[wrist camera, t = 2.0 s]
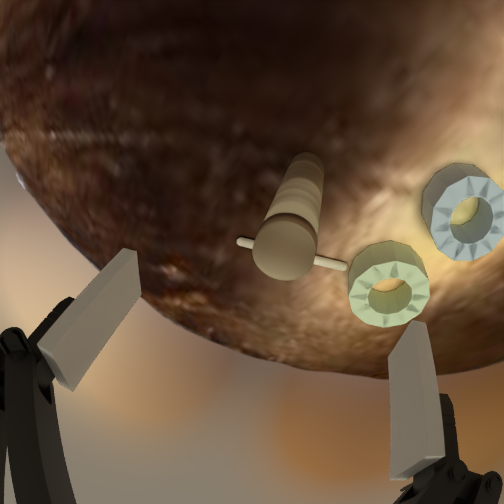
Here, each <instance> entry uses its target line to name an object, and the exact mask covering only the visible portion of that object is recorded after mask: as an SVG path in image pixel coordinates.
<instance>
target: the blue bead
mask: <svg viewBox="0 0 504 504" xmlns="http://www.w3.org/2000/svg"><path fill="white" fill-rule="evenodd" d="M469 197H479V205H478V211H477V212H476V214H475V215H474V217H473V218H472V219H471V220H470V221H469V222H467V223H465V224H463V225H450V220H451V214H452V212H453V211H454V210H455V208H456V207H457V205H458V204H459V203H460V202H462V201H463V200H465V199H467V198H469ZM421 214H422V216H423V218H424V220H425V222H426V225H427V227H428V229H429V232H430V234H431V236H432V238H433V240H434V242H435V245H436V247H437V249H438V250H439V251H441V252H442V253H444V254H445V255H447V256H448V257H450V258H451V259H452V260H460V261H474V260H475V259H477V258H479V257H481V256H483V255H485V254H487V253H489V252H491V251H492V250H493V249H494V247H495V246H496V245H497V244H498V242H499V241H500V240H501V238H502V237H503V236H504V191H503V190H502V189H501V188H500V187H499V186H498V185H497V184H496V183H494V182H493V181H492V180H491V179H490V178H489V177H488V176H487V175H486V174H485V173H483V172H482V171H481V170H480V169H479V168H477V167H476V166H475V165H469V164H459V163H454V164H452V165H450V166H448V167H446V168H444V169H442V170H440V171H438V172H437V173H435V175H434V176H433V178H432V179H431V181H430V182H429V184H428V185H427V187H426V188H425V190H424V191H423V201H422V211H421Z"/></svg>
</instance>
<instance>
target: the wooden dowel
mask: <svg viewBox="0 0 504 504" xmlns="http://www.w3.org/2000/svg"><path fill="white" fill-rule="evenodd" d="M323 181H324V164H323V161H322V160H321V158H320V157H319V156H317V155H316V154H314V153H311V152H302V153H299V154H297V155H296V156H294V158H293V159H292V160H291V163H290V165H289V167H288V169H287V171H286V174H285V176H284V178H283V180H282V182H281V184H280V187H279V189H278V191H277V193H276V195H275V198H274V200H273V202H272V204H271V206H270V209H269V211H268V213H267V215H266V217H265V220H264V222H263V223H262V225H261V226H260V229H259V231H258V233H257V235H256V238H255V242H254V244H253V249H252V253H253V258H254V261H255V263H256V265H257V266H258V267H259V269H260V270H261V271H263V272H264V273H265V274H266V275H268V276H270V277H272V278H275V279H279V280H294V279H298V278H300V277H302V276H304V275H305V274H307V273H308V272H309V271H310V269H311V268H312V266H313V263H314V259H315V256H316V251H317V241H318V240H317V236H318V227H319V219H320V210H321V201H322V191H323Z"/></svg>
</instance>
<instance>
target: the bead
mask: <svg viewBox="0 0 504 504" xmlns="http://www.w3.org/2000/svg"><path fill="white" fill-rule="evenodd" d="M390 278H397V279H401V280H405V281H404V283H403V284H402V285H401V286H400V287H398V288H397V289H396V290H393V291H388V292H381V291H377V290H374V289H373V288H372V287H373V286H374V285H375V284H377V283H378V282H379V281H381V280H385V279H390ZM348 297H349V300H350V304H351V308H352V312H353V313H354V314H355V315H356V316H358V317H359V318H360V319H361V320H362V321H363V322H365V323H366V324H370V325H375V326H380V327H384V328H385V327H390V326H395V325H401V324H405V323H406V322H408V321H409V320H411V319H412V318H414V317H415V316H417V315H418V314H420V313H421V311H422V310H423V308H424V306H425V304H426V303H427V301H428V299H429V298H430V294H429V279H428V276H427V273H426V270H425V267H424V264H423V262H422V259H421V258H420V257H419V256H418V255H417V253H416V252H415V251H414V250H413V249H412V248H411V247H410V246H408V245H405V244H401V243H398V242H394V241H387V242H382V243H378V244H373V245H370V246H368V247H367V248H366V249H365V250H364V251H362V252H361V253H360V254H359V255H357V256H356V257H355V258H354V261H353V263H352V266H351V269H350V271H349V274H348Z"/></svg>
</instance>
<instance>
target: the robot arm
mask: <svg viewBox="0 0 504 504" xmlns="http://www.w3.org/2000/svg"><path fill="white" fill-rule="evenodd" d="M140 296H141V287H140V279H139V270H138V261H137V252H136V251H132V250H129V249H125V248H123V249H122V250H121V251H120V252H119V253H118V254H117V255H116V256H115V257H114V258H113V259H112V260H111V261H110V262H109V263H108V264H107V265H106V266H105V267H104V269H103V270H102V271H101V272H100V273H99V274H98V275H97V276H96V277H95V278H94V279H93V280H92V281H91V282H90V283H89V284H88V286H87V287H86V288H85V289H84V290H83V291H82V292H81V293H80V294H79V295H78V297H77V298H76V299H74V298H72V297H68V298H66V299H64V300H62V301H61V302H60V303H58V305H57V306H56V307H55V308H54V309H53V311H52V312H50V313H49V314H48V316H47V318H45V319H44V320H43V322H41V324H40V325H39V326H38V327H37V328H36V329H35V331H34V332H33V333H32V334H31V335H30V336H29V338H28V339H27V338H26V336H25V334H24V332H23V331H22V330H21V329H20V328H17V327H11V328H8V329H6V330H4V331H3V332H2V333H1V335H0V504H4V476H5V462H6V451H7V447H8V456H9V463H10V470H11V477H12V483H13V488H14V493H15V498H16V502H17V504H76V500H75V497H74V493H73V490H72V486H71V483H70V478H69V475H68V471H67V466H66V462H65V457H64V452H63V447H62V443H61V437H60V431H59V425H58V419H57V412H56V404H55V397H54V387H53V383H52V381H53V379H54V378H55V377H56V379H57V381H58V382H59V384H60V385H62V386H64V387H65V388H67V389H69V390H71V391H74V390H75V388H76V386H77V385H78V384H79V382H80V381H81V379H82V377H83V376H84V375H85V373H86V371H87V370H88V369H89V367H90V366H91V364H92V363H93V361H94V360H95V358H96V357H97V356H98V354H99V353H100V351H101V350H102V348H103V347H104V345H105V344H106V343H107V341H108V340H109V338H110V337H111V336H112V334H113V333H114V331H115V330H116V328H117V327H118V326H119V324H120V323H121V322H122V320H123V319H124V318H125V316H126V315H127V313H128V312H129V311H130V309H131V308H132V307H133V305H134V303H136V301H137V300H138V298H139V297H140ZM388 366H389V383H390V412H391V451H390V477H389V480H407V479H408V478H410V477H412V476H413V483H411V484H409V485H407V486H405V487H403V488H402V489H401V490H400V491H404V490H405V491H404V492H403V493H402V495H401V496H400V497H399V498H398V499H397V500H396V501H395V502H394V503H393V504H498V501H499V498H500V494H501V491H502V485H503V483H502V479H501V477H500V475H499V474H498V473H497V472H494V471H490V472H487V473H486V474H484V475H480V474H477V473H474V472H471V471H468V469H467V466H466V465H465V463H464V462H463V461H461V460H460V459H459V453H458V442H457V433H456V426H455V418H454V410H453V404H452V402H451V400H450V398H449V396H448V394H441V393H439V391H438V385H437V378H436V372H435V367H434V361H433V356H432V351H431V346H430V341H429V336H428V332H427V327H426V323H423V322H419V321H414V320H412V321H411V322H410V324H409V325H408V327H407V329H406V330H405V332H404V334H403V335H402V337H401V338H400V340H399V341H398V343H397V344H396V346H395V348H394V349H393V351H392V352H391V354H390V355H389V357H388Z"/></svg>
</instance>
